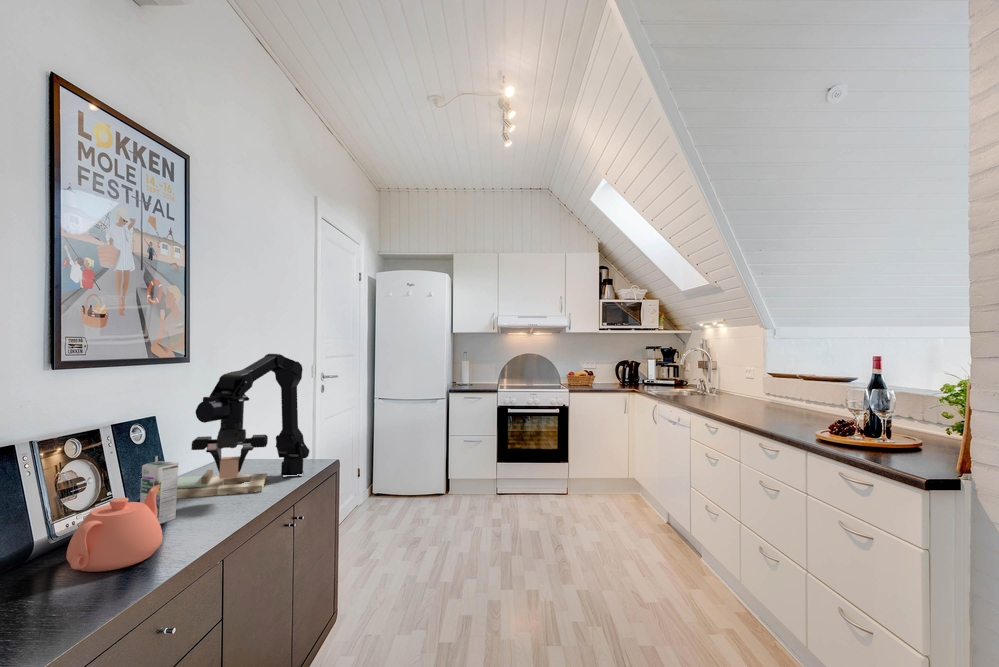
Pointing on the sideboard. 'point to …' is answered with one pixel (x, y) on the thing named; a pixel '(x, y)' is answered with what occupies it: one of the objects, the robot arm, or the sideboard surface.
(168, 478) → the syrup box
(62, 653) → the sideboard surface
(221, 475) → the block
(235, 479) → the puzzle board
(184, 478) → the cover
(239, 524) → the sideboard surface
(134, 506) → the teapot
